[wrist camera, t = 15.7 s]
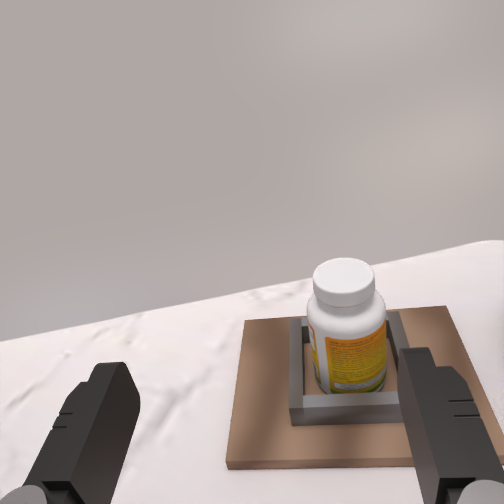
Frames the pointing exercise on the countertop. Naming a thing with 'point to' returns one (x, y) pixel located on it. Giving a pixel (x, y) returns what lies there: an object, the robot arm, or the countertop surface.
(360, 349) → the supplement bottle
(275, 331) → the dock board
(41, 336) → the countertop surface
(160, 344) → the countertop surface
